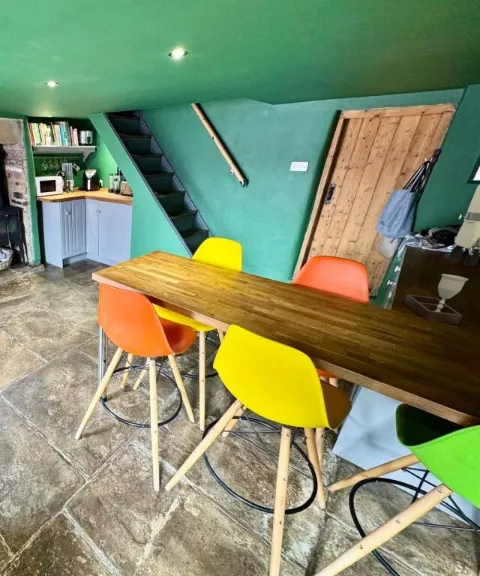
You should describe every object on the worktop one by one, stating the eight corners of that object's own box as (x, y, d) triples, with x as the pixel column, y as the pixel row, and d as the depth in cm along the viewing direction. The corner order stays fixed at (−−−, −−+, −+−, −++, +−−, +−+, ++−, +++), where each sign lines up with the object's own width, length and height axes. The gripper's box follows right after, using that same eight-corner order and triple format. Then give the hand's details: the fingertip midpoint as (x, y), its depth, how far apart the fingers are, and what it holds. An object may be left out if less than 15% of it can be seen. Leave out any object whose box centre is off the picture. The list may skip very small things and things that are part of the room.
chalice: (448, 319, 126) (469, 278, 120) (445, 322, 122) (467, 280, 116) (424, 312, 131) (443, 273, 125) (420, 315, 128) (440, 275, 121)
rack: (432, 308, 137) (436, 297, 135) (457, 327, 121) (462, 315, 119) (403, 304, 141) (407, 294, 139) (423, 322, 125) (428, 311, 123)
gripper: (512, 221, 103) (490, 269, 109) (479, 214, 117) (461, 257, 123) (481, 220, 106) (461, 267, 112) (453, 214, 120) (436, 255, 126)
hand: (461, 261), depth 118 cm, fingers open, 9 cm apart
